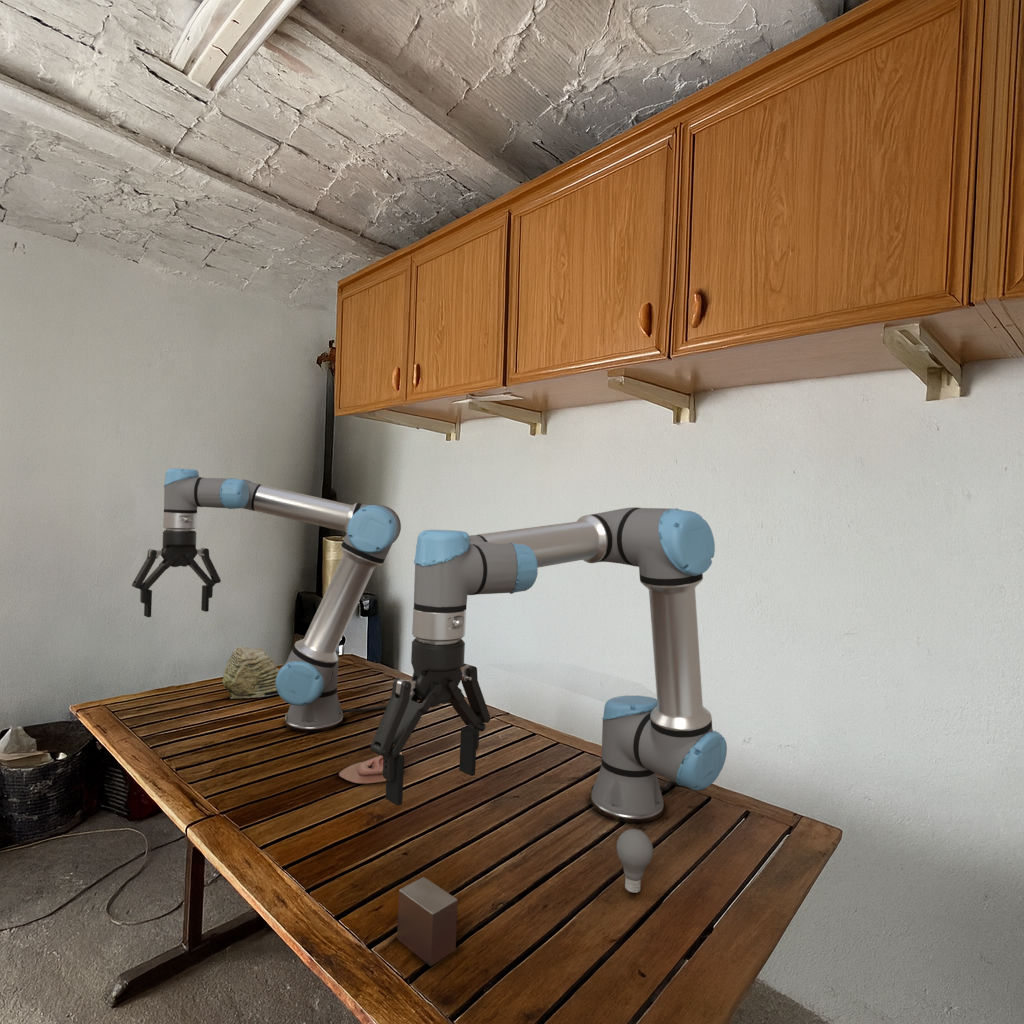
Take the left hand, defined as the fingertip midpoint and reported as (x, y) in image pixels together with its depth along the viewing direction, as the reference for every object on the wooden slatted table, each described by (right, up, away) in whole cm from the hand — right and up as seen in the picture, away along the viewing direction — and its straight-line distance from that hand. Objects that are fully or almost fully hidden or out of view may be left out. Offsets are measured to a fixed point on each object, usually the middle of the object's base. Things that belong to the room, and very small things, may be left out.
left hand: (177, 613), depth 160 cm
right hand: (+73, -14, -70) cm, 102 cm away
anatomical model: (+52, -35, -15) cm, 64 cm away
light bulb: (+105, -38, -55) cm, 124 cm away
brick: (+72, -37, -69) cm, 107 cm away
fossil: (+4, -32, +38) cm, 49 cm away
